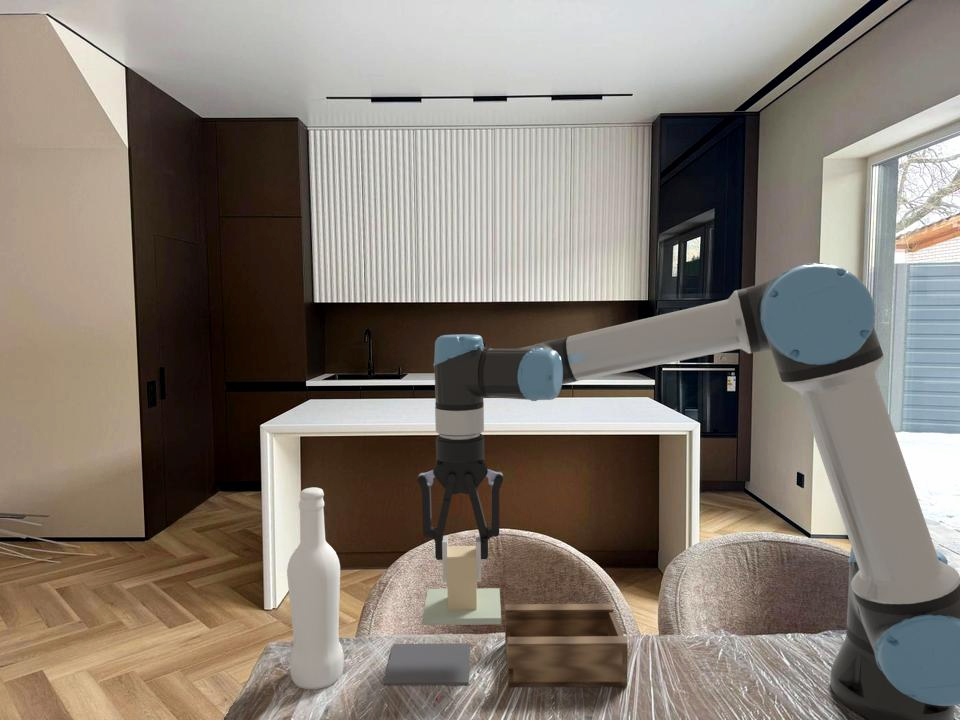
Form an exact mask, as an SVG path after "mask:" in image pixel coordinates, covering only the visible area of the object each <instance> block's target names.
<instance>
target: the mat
mask: <svg viewBox="0 0 960 720" xmlns="http://www.w3.org/2000/svg"><path fill="white" fill-rule="evenodd" d="M470 655H471V643H469V642H467V643H462V642H461V643H460V642H459V643H456V642H455V643H393V644H392V649H391V652H390V657H389V661H388V663H387V664H388V665H387V669H386V673H385V674H384V675H385V676H384V680H383V686H467V685H468V686H469V685H470V662H471V660H470V659H471V656H470Z"/></svg>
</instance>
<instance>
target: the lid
mask: <svg viewBox="0 0 960 720" xmlns="http://www.w3.org/2000/svg"><path fill="white" fill-rule="evenodd" d="M446 584H447V588H428V589H427V592H426V598H425V604H424V609H423V614H422V618H421V619H422V620H421V622H422V626H451V625H452V626H457V625H459V626H463V625H465V626H470V625H471V626H472V625H476V626H477V625H481V626H482V625H502V613H501V612H502V608H501V594H500V592H501V590H500V588H499V587H498V588H496V587H494V588H493V587H492V588H491V587H490V588H489V587H487V588H486V587H484V588H478V582H476V545H448V553H447V582H446Z"/></svg>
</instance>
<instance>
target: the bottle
mask: <svg viewBox="0 0 960 720" xmlns="http://www.w3.org/2000/svg"><path fill="white" fill-rule="evenodd" d="M324 496H325V493H324V490H323V489H322V488H320V487H307V488H304V489H302V490H301V491H300V494H299V498H300V500H299V502H298V509H299V529H300V530H299V533H300V534H299V536H300V537H299V539H300V541H299V544H298V546H297V548H295V550H294V551H293V553H292V555H291V556H290V557H289V559H288V560H289V561H288V563H287V568H286V569H287V570H286V575H287V577H286V578H287V586H288V595H289V606H290V614H291V615H290V617H291V625H292V626H291V627H292V633H293V634H292V635H293V646H292V651H291V654H290V657H289V667H290V668H289V669H290V670H289V671H290V676H291V680H292V681H293V683H294V684H295V686H297V687H298V688H301V689H303V690H319V689H324V688H326V687H329V686H331V685H333V684H334V683H336V682H337V681H338V680H339V679H340V677H341V676H342V674H343V669H344V664H345V663H344V661H345V660H344V657H345V656H344V651H343V647H342V644H341V642H340V638H339V637H340V636H339V634H340V633H339V622H340V619H339V618H340V616H339V615H340V595H341V594H340V592H341V591H340V590H341V589H340V588H341V563H340V559H339V557H338V555H337V552H336V550H334V548H333V547H332V546H331V545H330V544H329V543H328V542H327V540H326V529H325V527H326V526H325V513H324V511H325V510H324V507H325V501H324Z"/></svg>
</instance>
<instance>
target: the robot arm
mask: <svg viewBox="0 0 960 720" xmlns="http://www.w3.org/2000/svg"><path fill="white" fill-rule="evenodd" d="M875 317H876V310H875V303H874V300H873V297H872V294H871V292H870V290H869V289H868V287H867V286H866V285H865V283H864V282H863V281H862V280H861V279H859V278H858V277H857V276H856V275H855V274H854V273H852V272H851V271H850V270H847V269H845V268H843V267H841V266H838V265H835V264H831V263H826V262H825V263H823V262H810V263H805V264H801V265H797V266H795V267H793V268H791V269H789V270H786V271H783V272H782V273H781V274H779V275H777V276H775V277H773V278H771V279H768V280H767V281H764V282H761V283H759V284H756V285H752V286H749V287H745V288H741V289H736V290H734V291H733V292H732V294H731V295H730V296H729V297H728V298H727V299H724V300H719V301H716V302H711V303H707V304H702V305H698V306H697V305H696V306H695V307H694V306H693V307H690V308H685V309H682V310H681V309H680V310H677V311H676V310H675V311H673V312H668V313H663V314H659V315H655V316H652V317H647V318H642V319H637V320H633V321H630V322H626V323H625V322H624V323H621V324H617V325H612V326H608V327H604V328H600V329H595V330H590V331H587V332H582V333H577V334H574V335H570V336H567V337H561V338H556V339H552V340H545V341H540V342H537V343H535V344H532V345H528V346H524V347H518V348H492V347H485V344H484V340H483V337H482V336H481V335H479V334H466V333H465V334H464V333H463V334H462V333H461V334H444V335H440V336H439V337H437V338H436V340H435V342H434V358H433V359H434V361H433V364H432V365H433V367H434V370H433V371H434V393H435V403H434V404H435V407H434V410H435V411H434V412H435V413H434V414H435V416H434V417H435V422H434V423H435V433H437V434H438V435H436V437H435V455H436V457H435V465H434V466H433V469H431V470H429V471H427V472H424V471H421V472H420V473H419V474H418V477H417V483H418V486H419V487H420V490H421V505H422V506H421V509H422V535H423V537H424V538H430V539H432V540H434V541H433V542H434V550H435V551H434V553H435V554H434V555H435V556H434V557H435V559H436V561H442V583H447V553H448V546H449V535H444V533H445V528H446V524H447V519H448V514H449V510H450V505H451V503H452V502H451V501H452V498H453V497H452V496H453V495H457V494H458V495H459V494H465V495H468V496H469V501H470V503H471V506H472V510H473V511H472V512H473V515H474V518H475V522H476V523H475V524H476V527H477V531H478V534H479V535H475V546H476V582H477V583H481V582H482V560H488V558H489V540H490V539H491V538H493V537H494V538H496V537H498V536H499V535H500V490H501V487H502V484H503V481H504V474H503V472H502V471H501V470H496V471H494V470H492V469H488V466H487V464H486V462H485V437H484V435H483V434H482V433H483V432H484V431H485V419H484V418H485V407H484V403H485V402H484V398H489V399H490V398H494V399H495V398H497V399H510V400H511V399H512V400H513V399H514V400H528V401H531V402H537V401H552V400H554V399H556V398H558V396H559V395H560V392H561V390H562V386H563V385H567V384H571V383H576V382H579V381H585V380H589V379H595V378H599V377H604V376H611V375H615V374H621V373H625V372H629V371H634V370H639V369H640V370H641V369H645V368H649V367H654V366H659V365H660V366H661V365H664V364H669V363H674V362H675V363H676V362H680V361H685V360H690V359H694V358H700V357H705V356H709V355H714V354H720V353H723V352H724V353H725V352H731V351H735V350H742V351H744V352H745V353H747V354H753V353H760V352H766V351H770V352H771V355H772V358H773V361H774V363H775V366H776V368H777V372H778V374H779V377H780V380H781V384H783V385H785V386H787V387H788V388H791V389H792V390H794V391H796V392H797V393H799V396H800V399H801V402H802V405H803V408H804V410H805V414H806V417H807V420H808V422H809V425H810V429H811V432H812V434H813V436H814V440H815V443H816V447H817V449H818V452H819V455H820V458H821V460H822V464H823V467H824V470H825V472H826V475H827V479H828V481H829V484H830V487H831V490H832V493H833V495H834V498H835V502H836V505H837V508H838V511H839V514H840V517H841V519H842V522H843V523H842V524H843V526H844V528H845V532H846V534H847V536H848V540H849V542H850V546H851V547H850V553H849V558H848V559H847V562H848V563H849V566H848V567H849V568H848V569H849V571H848V589H847V590H848V591H847V593H848V594H847V612H846V633H845V634H846V635H845V638H844V640H843V642H842V644H841V646H840V649H839V650H838V653H837V655H836V657H835V659H834V661H833V664H832V666H831V668H830V689H831V691H832V693H833V694H834V695H835V697H836V698H837V699H838V700H839V701H840V702H841V703H842V704H843V705H845V706H846V707H847V708H849V709H850V710H852V711H853V712H855V713H856V714H858V715H860V716H862V717H863V718H865V719H868V720H955V712H956V711H955V709H956V708H955V707H956V706H957V705H958V706H959V705H960V574H959V572H958V570H957V569H955V567H953V566H951V565H949V563H948V559H947V557H946V556H945V555H944V554H943V553H942V552H940V551H938V550H936V547H935V545H934V542H933V539H932V537H931V534H930V531H929V527H928V525H927V523H926V522H927V521H926V519H925V517H924V513H923V510H922V508H921V505H920V502H919V498H918V495H917V493H916V491H915V487H914V484H913V481H912V479H911V475H910V473H909V470H908V467H907V464H906V461H905V458H904V455H903V452H902V449H901V447H900V443H899V441H898V438H897V435H896V431H895V428H894V426H893V424H892V420H891V418H890V415H889V412H888V409H887V406H886V405H887V404H886V403H885V401H884V397H883V395H882V391H881V388H880V386H879V382H878V379H877V377H876V372H877V370H878V369H879V367H880V365H881V364H882V362H883V360H884V358H885V355H884V353H883V350H882V347H881V346H882V345H881V344H880V341H879V337H878V335H877V331H876V329H875V320H876V318H875ZM434 478H435V479H436V480H437V481H438V482H439V483H440V485H441V486H442V487H443V489H444V492H443V496H442V497H443V498H442V502H441V506H440V507H441V508H440V512H439V515H438V521H437V525H436V527H433V520H432V519H433V515H432V513H433V512H432V488H431V487H432V485H433V484H434ZM485 478H487V480H488V482H487V483H488V485H489V486H491V487H490V488H491V489H490V491H491V493H490V495H491V499H490V501H491V502H490V503H491V507H490V508H491V516H490V517H491V518H490V519H491V522H490V523H491V524H490V525H491V526H488V527H487V522H486V519H485V514H484V510H483V507H482V503H481V499H480V496H479V491H478V490H479V489H478V488H479V486H480V485H481V483H482V482H483V481H484V479H485Z"/></svg>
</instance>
